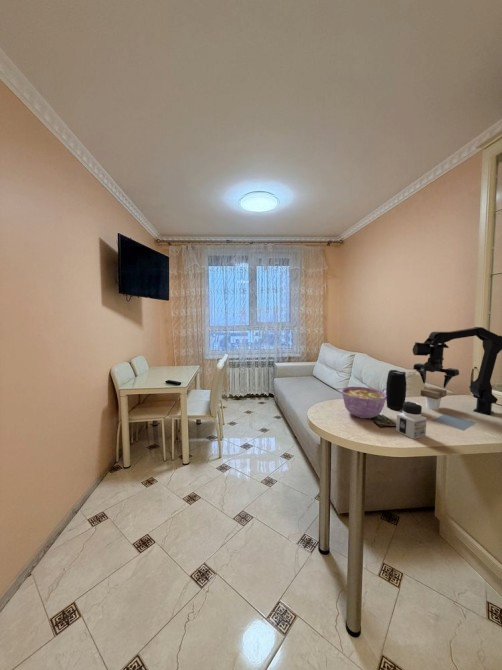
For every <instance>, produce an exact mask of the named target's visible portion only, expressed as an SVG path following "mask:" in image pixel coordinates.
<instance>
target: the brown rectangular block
mask: <svg viewBox="0 0 502 670" xmlns="http://www.w3.org/2000/svg"><path fill="white" fill-rule="evenodd" d="M420 396H421V397H425V398H426V397H429V398H432V399H436V400H437V399H440V398H441V399H442V398H444V397H447V390H446V389H442V388H438V387H433V386H429V387H426V388H425V387H424V388H423V389H420Z"/></svg>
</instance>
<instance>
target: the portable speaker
mask: <svg viewBox="0 0 502 670" xmlns="http://www.w3.org/2000/svg"><path fill="white" fill-rule="evenodd" d="M406 375H407V374H406V372H405V371H399V370H397V369H390V370H389V371H388V373H387V378H386V383H385V384H386V385H385V389H386V390H385V391H386V392H385V394H386V395H387V397H386V400H385V402H386V407H387V408H392V409H393V410H394V411H403V403H404V402H406V398H407V396H406V395H407V378H406V377H407V376H406Z"/></svg>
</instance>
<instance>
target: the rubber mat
mask: <svg viewBox="0 0 502 670" xmlns="http://www.w3.org/2000/svg"><path fill="white" fill-rule="evenodd" d="M431 421H433V422H435V423H438V424H442V425H445V426H449V427H452V428H455V429H458V430H461V431H465V430H467V429H469V428H470V427H471V426H474V424H477V422H476V421H472V420H469V419H466V418H463V417H459V416H455V415H452V414H448V413H443V414H442V415H439V416H437V417H435V418H433V419H431Z"/></svg>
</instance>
